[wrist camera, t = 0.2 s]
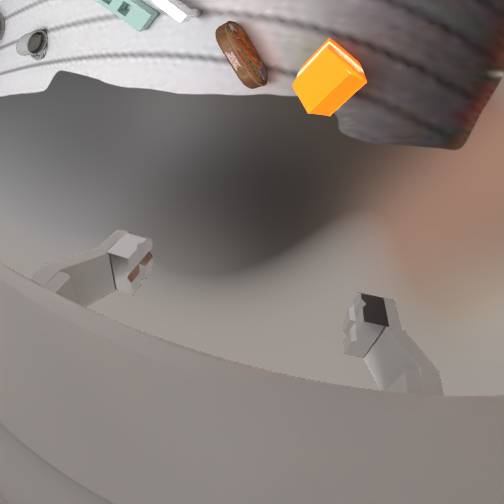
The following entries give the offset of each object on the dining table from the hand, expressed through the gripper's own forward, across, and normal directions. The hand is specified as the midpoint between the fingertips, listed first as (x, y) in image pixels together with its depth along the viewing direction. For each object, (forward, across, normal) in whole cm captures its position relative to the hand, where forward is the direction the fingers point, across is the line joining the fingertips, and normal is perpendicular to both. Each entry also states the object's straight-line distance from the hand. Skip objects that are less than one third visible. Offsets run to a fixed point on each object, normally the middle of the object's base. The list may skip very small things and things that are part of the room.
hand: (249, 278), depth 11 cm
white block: (+47, +27, -23) cm, 59 cm away
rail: (+46, +43, -26) cm, 68 cm away
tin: (+51, +14, -13) cm, 54 cm away
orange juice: (+50, -3, -13) cm, 52 cm away
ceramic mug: (+48, +77, -21) cm, 93 cm away
